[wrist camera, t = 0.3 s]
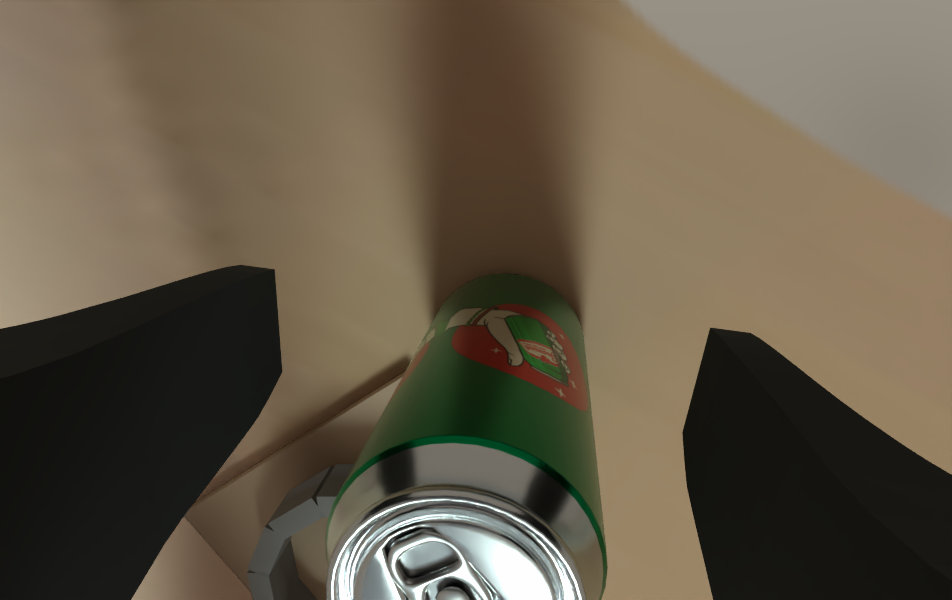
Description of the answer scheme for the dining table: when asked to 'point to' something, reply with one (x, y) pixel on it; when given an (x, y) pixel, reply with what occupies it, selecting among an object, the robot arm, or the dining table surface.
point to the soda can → (479, 462)
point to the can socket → (288, 505)
